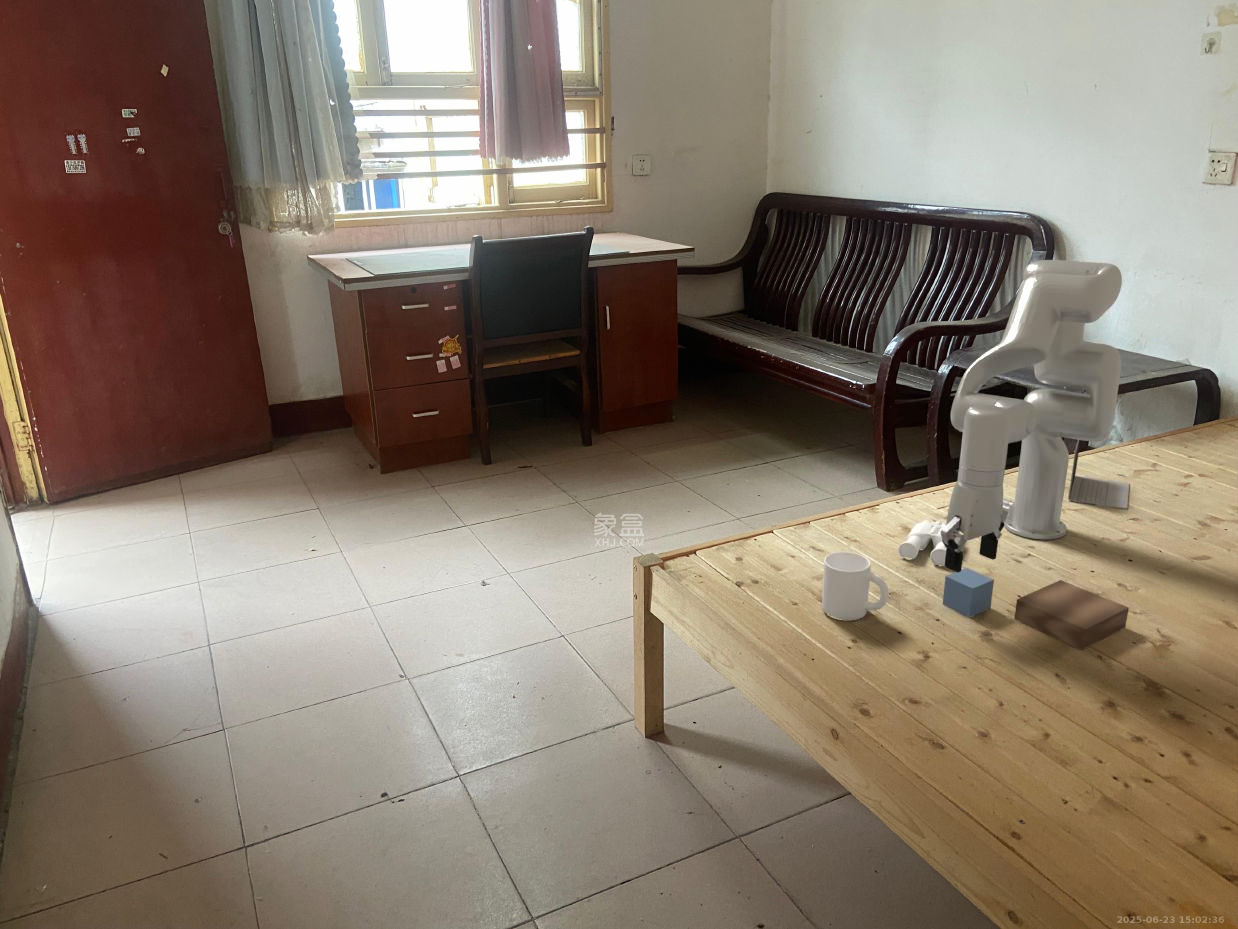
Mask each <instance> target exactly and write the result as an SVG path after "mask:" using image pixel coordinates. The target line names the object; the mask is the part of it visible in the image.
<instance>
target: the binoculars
mask: <svg viewBox="0 0 1238 929" xmlns="http://www.w3.org/2000/svg"><path fill="white" fill-rule="evenodd" d="M945 526H946V523H943V522H942V521H939V520H937V521H931V520H928V519H925V520H923V521H922V522H918V523H916V524H915V525H914V527H913V528H912V529H911V531H910V532H909V533H908V535H907V536H906V539H905V541H904V542H902V543H900V544H899V546H898V554H899V556H900V557H901V558H902V557H908V558H912V559H913V560H915V559H916V558H917V557H918V555H919V552H920V551H919V550H920V549H923V550H922V551H924V550H925V549H926V547H927V546H928V545H929V543H930V541H931V540H932V544H933V550H931V552H930V554H929V559H930V562H931V564H933V565H934V566H936V565H941V566H943V567H945V557H946V548H945V547H944V544H943V542H942V537H941V533H940V532H941V530H942V529H943V528H944V527H945ZM958 533H959V534H961V532H960V531H959V532H958ZM959 540H960V539H959V538H955V540H954V541H955V542H956V544H958V542H959Z"/></svg>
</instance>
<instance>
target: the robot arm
mask: <svg viewBox="0 0 1238 929" xmlns="http://www.w3.org/2000/svg"><path fill="white" fill-rule="evenodd" d="M1122 276H1123V275H1122V273H1121V270H1120V268H1119V267H1118V266H1117V265H1115V264H1112V263H1107V262H1096V261H1095V262H1091V261H1090V262H1089V261H1076V260H1062V259H1061V260H1060V259H1058V260H1057V259H1056V260H1055V259H1043V260H1036V261H1032V262H1030V263H1029V264H1028V265H1026V267H1025V268H1024V271H1023V276H1022V277H1023V278H1022V279H1023V280H1022V281H1023V282H1022V283H1021V285H1020V287H1019V288H1018V289H1019V290H1018V292H1017V295H1016V298H1015V301H1014V303H1013V307H1012V309H1011V313H1010V315H1009V318H1008V321H1007V324H1006V327H1005V329H1004V331H1003V336H1002V339H1001V340H1000V342H999V343H998V344H996V345H995V346H993V347H992V348H990V349H988V350H987V351H986V352H984V353H983V354H981V355H980V356H979V357H978V358H976V360H974V362H972V363H971V364H970V366H969V367H968V368H967V369H966V371H965V372H964V374H963V376H962V377H961V380H960V383H959V385H958V387H957V390H956V393H955V396H954V398H953V402H952V405H951V410H950V421H951V425H952V426H953V427H954V429H955V430H957V431H958V432H961V433H962V437H961V438H962V439H961V448H960V455H959V456H960V457H959V465H958V467H959V468H958V472H957V474H958V475H957V482H955V484H954V487H953V488H952V489H953V490H952V493H951V496H950V500H949V505H948V510H947V516H946V522H945V524H946V526H945V527H944V528H943V529H942V530H941V532H940V533H941V537H942V542H943V544H944V547H945V548H946V557H945V566H944V567H945V568H947V569H949V570H951V571H953V572H954V573H955V572H957V573H958V572H961V570H962V568H963V567H962V566H963V559H964V557H963V556H964V551H962V549H963V547H965V544H966V543H967V541H972V540H975V539H977V538H980V545H979V554H978V555H980V556H983V557H984V558H987V559H990V560H996V559H997V553H998V546H999V539H1000V538H1001V536H1002V534H1001V532H1002V530H1003V528H1004V527H1005V529H1007V530H1008V531H1009V532H1010V533H1013V534H1015V535H1017V536H1020V537H1024V538H1028V539H1033V540H1055V539H1056V540H1057V539H1060V538H1062V537H1064V536H1065V535H1066V534H1067V529H1068V528H1067V527H1068V526H1067V525H1066V524H1065V523H1064V522H1063V521H1061V516H1062V508H1063V501H1064V494H1065V487H1066V480H1067V475H1068V469H1069V461H1070V454H1069V451H1068V448H1067V445H1066V443H1065V442H1064V440H1063V438H1066V439H1071V440H1072V439H1073V440H1077V441H1078V440H1080V441H1086V442H1093V443H1095V442H1096V443H1097V442H1102V441H1104V440H1106V439H1107V438H1108V437H1109V435H1110V434H1111V432H1112V428H1113V425H1114V420H1115V414H1116V406H1117V399H1118V392H1119V386H1120V378H1121V368H1122V358H1121V354H1120V352H1119V350H1118V349H1117V348H1116V347H1115V346H1113V345H1110V344H1105V343H1097V342H1088V341H1085V340H1084V334H1085V324H1091V323H1095V322H1096V321H1098V320H1099V319H1100V318H1101V317H1103V315H1105V313H1106V312H1108V311H1109V309H1110V308H1111V307H1113V305H1114V304H1115V302H1116V301H1117V299H1118V298H1119V295H1120V293H1121V289H1122V284H1123V277H1122ZM1030 366H1033V368H1034V369H1033V370H1034V372H1033V373H1034V376H1035V378H1036V380H1037V381H1038V382H1040V383H1041V384H1046V385H1050V386H1056V387H1062V388H1069V389H1079V390H1085V391H1086V392H1088V393H1089V394H1088V393H1080V392H1073V391H1067V390H1060V389H1059V390H1058V389H1051V388H1041V389H1039V388H1038V389H1034V390H1032V391H1030V392H1028V394H1027V395H1025V397H1024V399H1019V398H1012V397H1006V396H1000V395H994V394H987V393H980V392H979V391H980V390H981V388H982V387H983V386H984V385H985V383H987V382H989V381H990V380H991V379H992V378H994V377H996V376H999V375H1002V374H1004V373H1008V372H1012V371H1016V370H1020V369H1023V368H1027V367H1030ZM1020 441H1021V446H1020V447H1021V449H1020V456H1019V463H1018V464H1019V465H1018V472H1017V473H1018V474H1017V480H1016V489H1015V496H1014V501H1012V500H1010V499H1008V498H1004V480H1005V479H1004V478H1005V471H1006V464H1007V457H1008V456H1007V455H1008V449H1009V448H1008V447H1009V446H1008V445H1009V444H1011V443H1017V442H1020ZM959 531H960V532H959ZM958 532H959V533H960V534H959V533H958ZM961 533H962V534H961ZM955 538H959V539H960V540H959V542H958V544H956V542H955V541H954V540H955Z"/></svg>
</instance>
